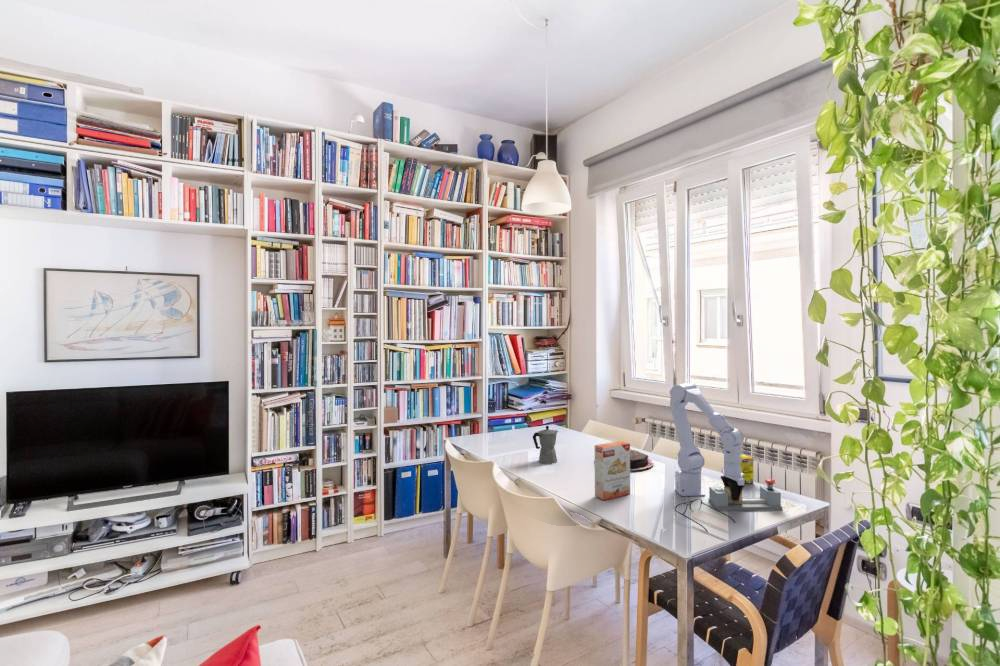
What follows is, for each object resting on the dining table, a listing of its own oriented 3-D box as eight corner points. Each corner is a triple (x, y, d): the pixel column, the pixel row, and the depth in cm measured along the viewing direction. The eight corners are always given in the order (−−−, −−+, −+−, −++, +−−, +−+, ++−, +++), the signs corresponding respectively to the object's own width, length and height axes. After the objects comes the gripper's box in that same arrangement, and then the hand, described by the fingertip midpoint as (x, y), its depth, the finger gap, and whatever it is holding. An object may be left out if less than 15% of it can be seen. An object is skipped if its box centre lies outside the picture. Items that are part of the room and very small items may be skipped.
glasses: (700, 510, 179) (701, 497, 178) (736, 529, 166) (738, 515, 165) (673, 518, 172) (674, 505, 171) (708, 539, 159) (710, 525, 158)
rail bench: (718, 510, 177) (718, 493, 177) (708, 501, 186) (708, 484, 186) (782, 510, 176) (782, 492, 176) (769, 500, 185) (769, 484, 185)
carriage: (728, 503, 179) (728, 490, 179) (724, 499, 183) (723, 486, 183) (742, 503, 179) (742, 490, 179) (737, 499, 183) (737, 486, 183)
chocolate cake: (616, 452, 257) (615, 440, 256) (664, 463, 236) (664, 450, 236) (583, 464, 238) (583, 451, 237) (633, 477, 217) (632, 462, 217)
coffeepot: (552, 457, 250) (552, 422, 249) (564, 461, 242) (563, 425, 241) (528, 462, 242) (527, 426, 242) (539, 467, 234) (538, 430, 233)
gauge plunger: (768, 492, 179) (767, 481, 179) (763, 489, 182) (763, 478, 182) (776, 491, 179) (776, 481, 179) (772, 488, 182) (772, 478, 182)
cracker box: (604, 501, 188) (603, 448, 188) (594, 496, 194) (593, 444, 193) (631, 494, 195) (630, 443, 194) (621, 490, 200) (620, 439, 200)
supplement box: (742, 485, 203) (742, 459, 202) (731, 480, 209) (731, 455, 208) (754, 483, 204) (753, 457, 204) (743, 479, 210) (743, 454, 210)
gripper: (752, 467, 173) (753, 505, 173) (734, 456, 188) (734, 491, 188) (732, 468, 173) (733, 505, 174) (715, 456, 188) (716, 491, 188)
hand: (732, 498), depth 181 cm, fingers closed on carriage, 4 cm apart
